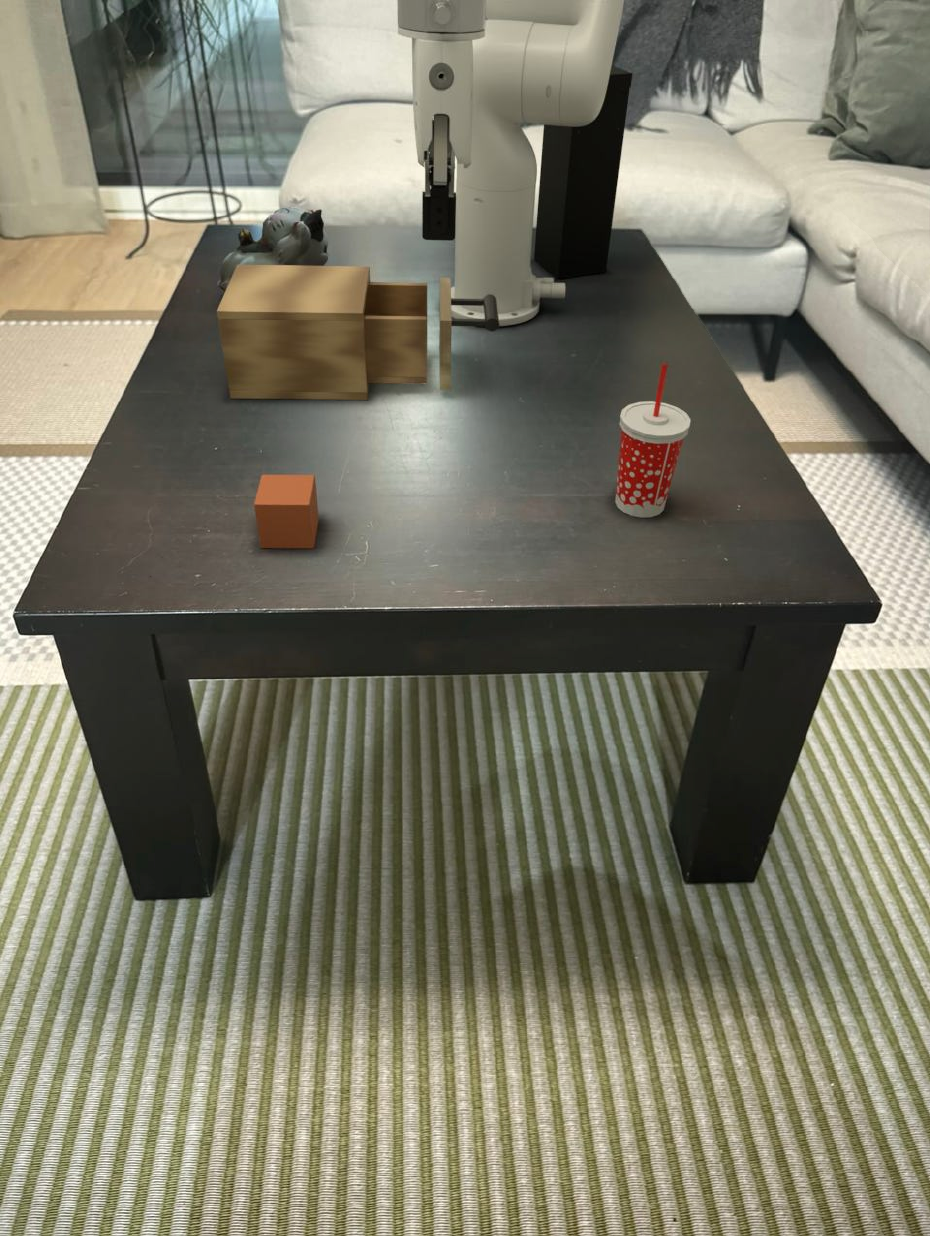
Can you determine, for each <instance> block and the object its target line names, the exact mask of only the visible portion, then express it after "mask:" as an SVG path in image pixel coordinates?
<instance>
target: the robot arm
mask: <svg viewBox="0 0 930 1236" xmlns="http://www.w3.org/2000/svg"><path fill="white" fill-rule="evenodd" d="M396 1H397V2H396V3H397V34H398V35H399V36H401V37H405V38H410V39H411V77H412V79H411V81H412V82H411V84H412V110H413V126H414V137H415V138H414V139H415V147H416V156H417V163H418V164H419V165H420V166H421V167H423V168H424V191H422V195H421V196H422V198H421V199H422V201H421V202H422V203H421V204H422V207H421V209H422V211H421V212H422V213H421V214H422V215H421V216H422V217H421V219H422V220H421V223H422V224H421V226H422V227H421V235H422V239H423V240H424V241H455V242H454V244H455V245H454V251H455V252H454V285H453V286H451V298H456V299H484V297H485V296H486V295H489V294H491V295H494V296H495V297H496V301H497V309H498V317H499V327H508V326H514V325H518V324H522V323H525V322H527V321H529V320H532V319H533V318H534V317H535V316H537V314H538V313H539V311H540V300H541V298H542V299H543V298H547V299H551V300H552V299H556V300H557V299H558V300H559V299H563V300H564V299H565V297H566V282H554V281H555V277H537V276H536V275H534V274H533V271H532V267H531V258H532V246H533V245H532V244H533V243H532V242H533V232H534V231H533V229H534V228H533V227H534V217H535V202H536V187H537V176H538V164H537V157H536V154H535V151H534V149H533V148H534V147H533V146H532V144H531V142H530V140H529V138H528V137H527V135H526V133H525V131H524V129H523V128H522V126H521V125H520V124H536V125H544V124H545V125H556V126H569V127H579V126H585V125H587V124H589V123H591V122H592V121H593V120H594V119H595V118H596V117H597V116H598V114H599V112H600V110H601V107H602V105H603V102H604V98H605V95H606V90H607V86H608V81H609V76H610V71H611V66H612V65H613V60H614V56H615V50H616V46H617V45H616V44H617V41H618V35H619V30H620V25H621V20H622V16H623V10H624V4H625V0H396ZM455 171H456V172H455ZM455 174H456V175H455ZM455 176H456V178H455ZM455 179H456V182H455ZM455 183H456V184H455ZM455 186H456V187H455ZM455 190H456V191H455ZM451 316H452V319H485V317H484V306H464V305H451Z"/></svg>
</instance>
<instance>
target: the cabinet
mask: <svg viewBox="0 0 930 1236" xmlns="http://www.w3.org/2000/svg"><path fill="white" fill-rule="evenodd" d="M369 282H371V266H353V265H351V266H350V265H324V266H297V265H237V267H236V269H235V271H234V273H233V276H232V278H231V280H230V282H229V285H228V287H227V289H226V291H224V294H223V296H222V298H221V299H220V302H219V305H218V307H217V310H216V315H217V322H218V329H219V335H220V341H221V348H222V354H223V361H224V366H225V372H226V373H225V374H226V379H227V384H228V391H229V398H230V399H234V400H235V399H236V400H237V399H240V400H241V399H242V400H245V399H247V400H248V399H249V400H251V399H253V400H331V401H332V400H333V401H338V400H339V401H343V400H344V401H367V400H368V398H369V397H368V395H369V390H370V389H369V388H370V383H367V371H366V351H365V331H364V312H365V305H366V299H367V292H368V285H369Z"/></svg>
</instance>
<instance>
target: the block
mask: <svg viewBox="0 0 930 1236" xmlns="http://www.w3.org/2000/svg"><path fill="white" fill-rule="evenodd" d="M316 483H317V482H316V475H314V474H262V475H261V477H260V480H259V483H258V487H257V492H256V495H255V499H254V503H253V508H254V513H255V519H256V527H257V532H258V533H257V534H258V540H259V545H260V549H314V548H315V543H316V538H317V531H318V525H319V521H320V516H319V515H320V513H319V505H318V494H317V484H316Z"/></svg>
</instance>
